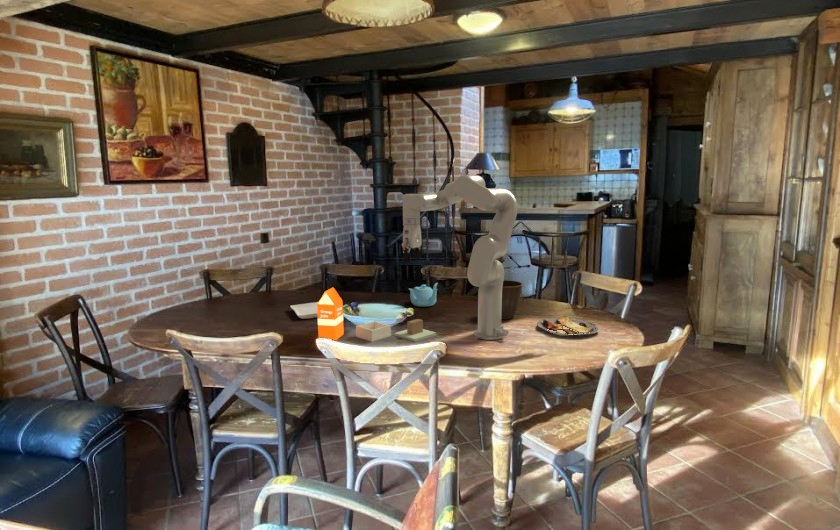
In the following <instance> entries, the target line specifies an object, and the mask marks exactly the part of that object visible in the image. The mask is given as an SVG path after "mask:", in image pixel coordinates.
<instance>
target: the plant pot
mask: <svg viewBox="0 0 840 530" xmlns="http://www.w3.org/2000/svg"><path fill="white" fill-rule="evenodd" d="M522 291H523V283H522V282H520V281H517V280H507V279H504V280H503V286H502V313H501V320H510V319H511V318H512V319H513V318H515V315H516V313H517V309H518V306H519V305H520V304H519V303H520V300H521V295H522ZM512 319H511V320H512Z"/></svg>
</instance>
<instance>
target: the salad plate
mask: <svg viewBox="0 0 840 530" xmlns="http://www.w3.org/2000/svg"><path fill="white" fill-rule="evenodd" d="M318 302H319V301H315V302H306V303H300V304H293V305H290V309H291V310H292V311H293V312H294V313H295V315H296V316H297V318H300V319H302V320H305V319H306V320H307V319H308V320H309V319H315V318H317V319H318V313H317V304H318Z"/></svg>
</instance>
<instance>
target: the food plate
mask: <svg viewBox="0 0 840 530" xmlns="http://www.w3.org/2000/svg"><path fill="white" fill-rule="evenodd" d="M536 326H537V327H539V328H541V329H542V330H544V331H545V332H546V333H549V332H550V331H549V330H553V331H557V330H563V331H565V332H566V333H567V334H566V333H565V334H564V333H563V334H562V333H561V334H559V333H556V332H555V333H554V332H550V334H552V333H553V334H552V335H558V336H563V337H564V336H565V337H567V336H566V335H568V334H573V335H574V334H577V335H578V336H586V335H592V334H596V333H597V332H598V331H600V328H599V327H598V325H596V324H595V323H593V322H589V321H585V320H583V319H578V318H569V317H568V316H567V315H563V316H562V317H550V318H544V319H541V320H539V321H537V323H536ZM563 326H565V327H567V328H569V329H563ZM561 328H562V329H561ZM547 329H549V330H548V331H547ZM570 329H572V330H570ZM573 330H575V331H577V332H580V333H583V334H579V333H577V332H575V331H573ZM589 332H590V333H589ZM584 333H586V334H584ZM573 335H572V336H571V337H574V336H573Z"/></svg>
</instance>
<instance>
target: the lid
mask: <svg viewBox="0 0 840 530" xmlns="http://www.w3.org/2000/svg"><path fill="white" fill-rule="evenodd" d="M406 326H407V327H406V329H404V330H400V331H397V332H394V334H395V336H399V337H402V338H405V339H409V340H412V341H418V340H422V339H425V338H428V337H431V336H434V335H436V334H437V332H435V331H432V330H428V329H424V320H423V319H420V318H417V319H416V318H415V319H412V320H410V321H407V322H406ZM395 336H394V337H395ZM431 338H432V337H431ZM405 339H404V340H405ZM428 339H429V338H428ZM425 340H426V339H425ZM422 341H423V340H422Z"/></svg>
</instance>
